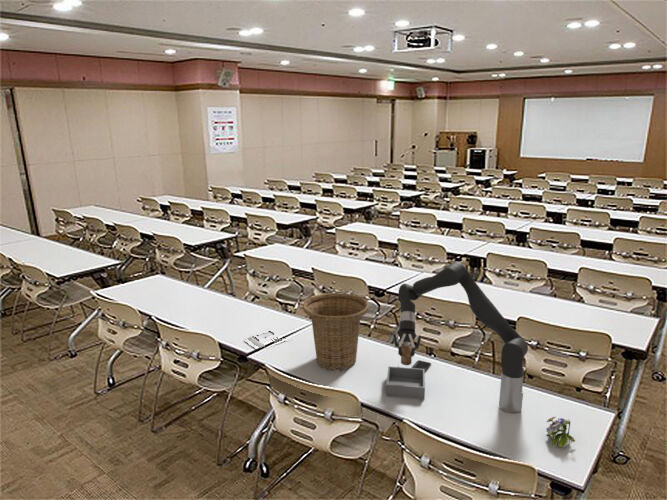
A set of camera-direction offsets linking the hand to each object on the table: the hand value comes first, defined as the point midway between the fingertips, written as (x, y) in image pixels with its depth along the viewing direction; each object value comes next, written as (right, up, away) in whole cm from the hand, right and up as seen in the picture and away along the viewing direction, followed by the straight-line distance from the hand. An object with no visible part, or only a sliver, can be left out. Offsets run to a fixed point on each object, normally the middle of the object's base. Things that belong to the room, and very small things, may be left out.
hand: (406, 355), depth 231 cm
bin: (0, -17, +6) cm, 18 cm away
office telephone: (-75, -4, +61) cm, 97 cm away
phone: (+11, -13, +24) cm, 30 cm away
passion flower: (+57, -27, -34) cm, 72 cm away
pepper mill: (0, -4, +3) cm, 5 cm away
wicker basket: (-33, -10, +34) cm, 48 cm away
